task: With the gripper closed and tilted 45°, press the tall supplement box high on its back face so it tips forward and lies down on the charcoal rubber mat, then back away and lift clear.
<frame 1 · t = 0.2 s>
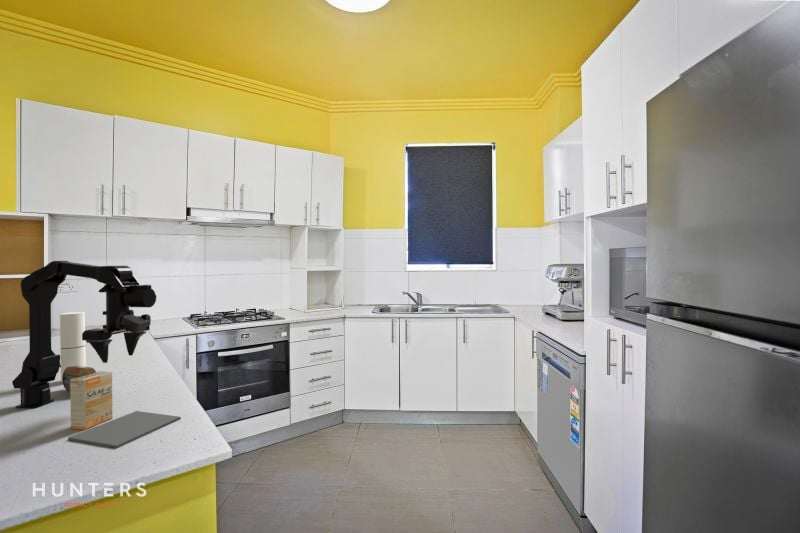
hand: (118, 358, 121), 14 cm above the table, tool pointing down, fingers open, 9 cm apart
supplement box: (92, 424, 108), on the table
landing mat: (127, 428, 104), on the table
cylindrical container: (73, 381, 148), on the table
tin: (80, 391, 136), on the table
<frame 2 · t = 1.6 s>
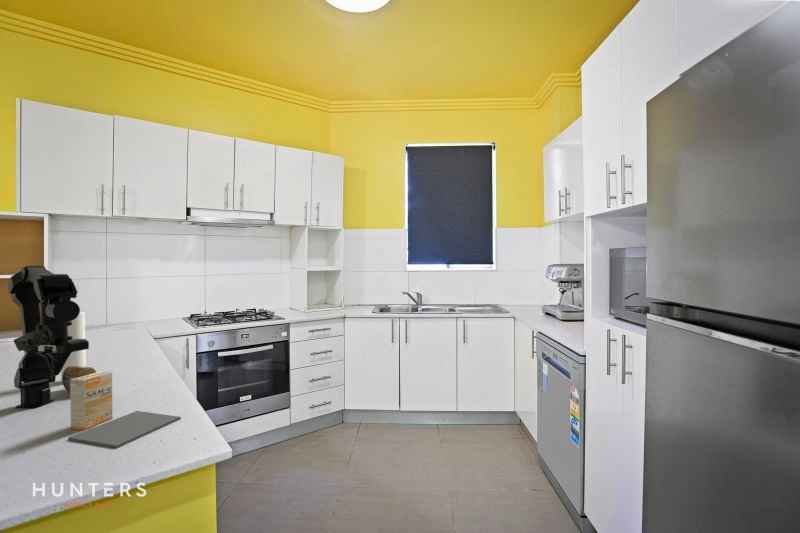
hand: (55, 375, 112), 12 cm above the table, tool pointing down, fingers closed
nothing on the table moved.
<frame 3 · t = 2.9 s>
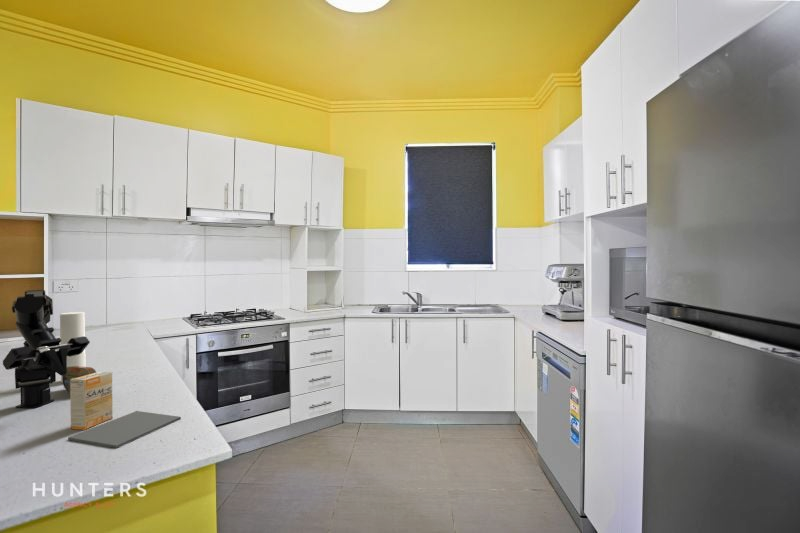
hand: (64, 374, 111), 12 cm above the table, tool tilted 45°, fingers closed
nothing on the table moved.
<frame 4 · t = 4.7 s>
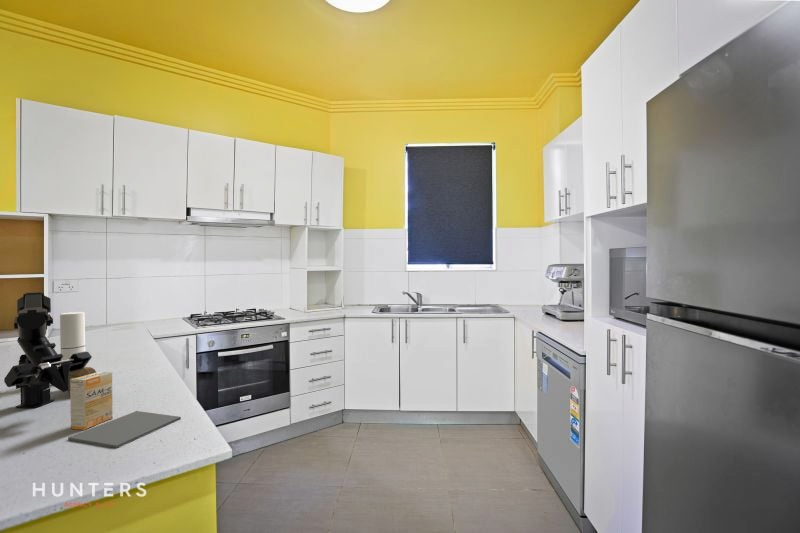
hand: (66, 390, 110), 8 cm above the table, tool tilted 45°, fingers closed
nothing on the table moved.
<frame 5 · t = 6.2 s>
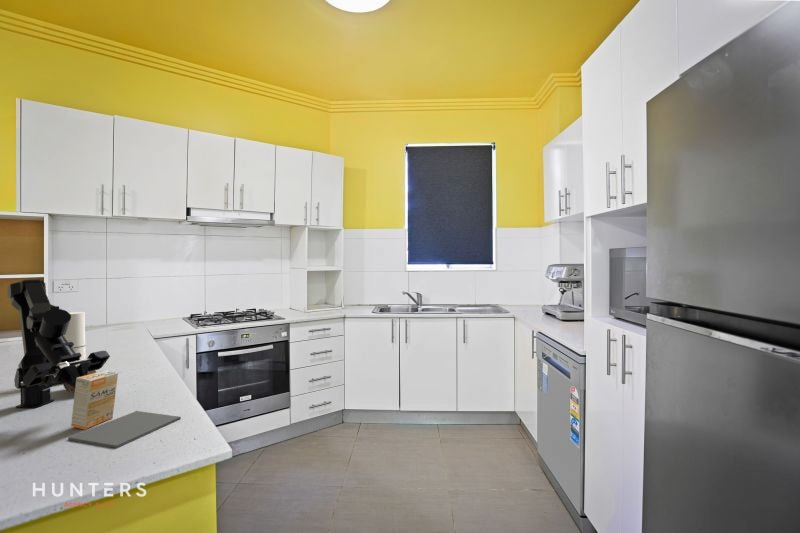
hand: (85, 390, 107), 9 cm above the table, tool tilted 45°, fingers closed
supplement box: (92, 423, 108), on the table, touching gripper
everything else where it was.
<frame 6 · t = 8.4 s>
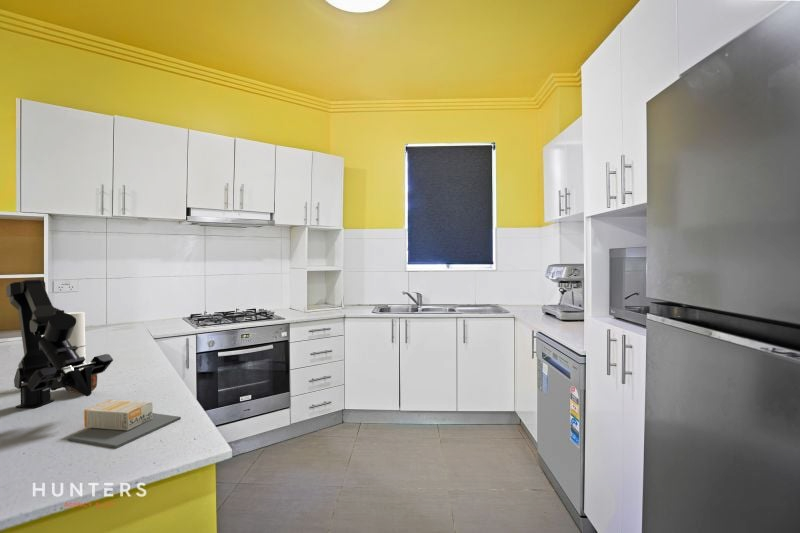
hand: (89, 395, 108), 8 cm above the table, tool tilted 45°, fingers closed
supplement box: (97, 413, 107), point 3 cm above the table, touching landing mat
everything else where it was.
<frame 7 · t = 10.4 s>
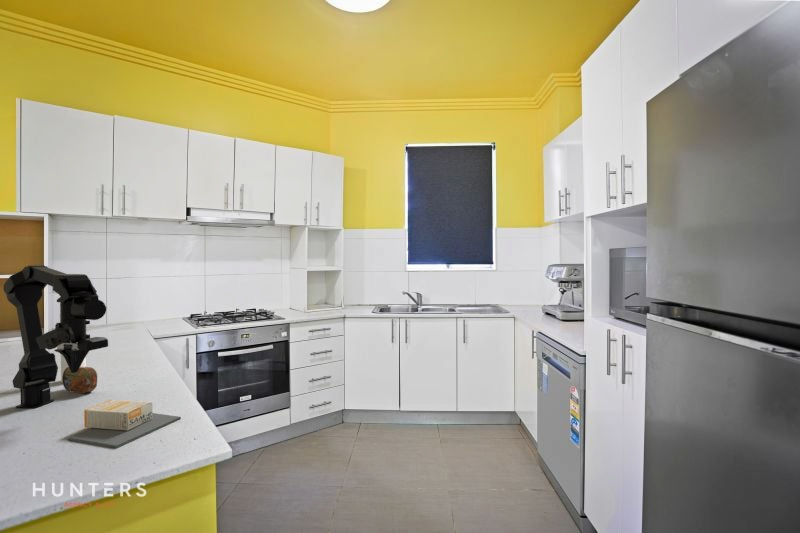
hand: (74, 372, 115), 12 cm above the table, tool pointing down, fingers closed
nothing on the table moved.
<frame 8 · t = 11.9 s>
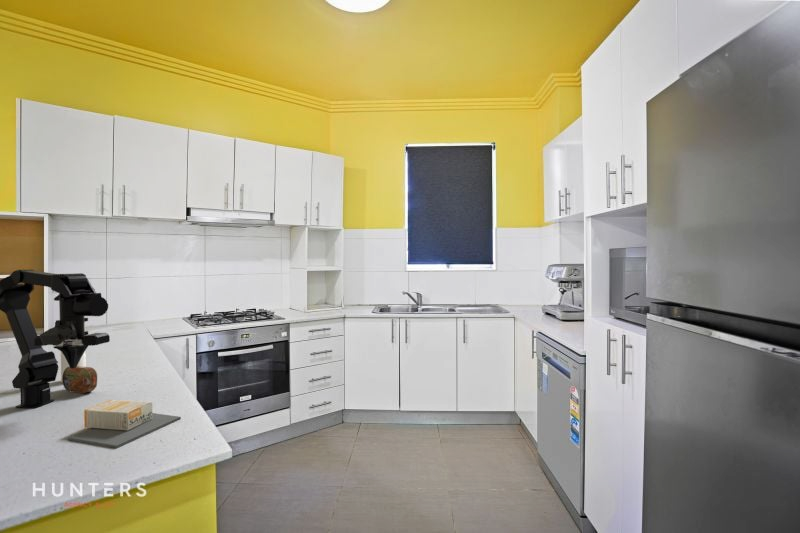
hand: (73, 368, 119), 12 cm above the table, tool pointing down, fingers closed
nothing on the table moved.
at the end: supplement box tilted 90°; supplement box touching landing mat; the gripper is holding nothing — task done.
